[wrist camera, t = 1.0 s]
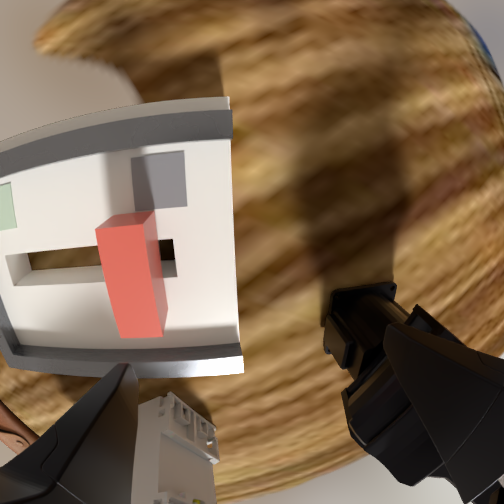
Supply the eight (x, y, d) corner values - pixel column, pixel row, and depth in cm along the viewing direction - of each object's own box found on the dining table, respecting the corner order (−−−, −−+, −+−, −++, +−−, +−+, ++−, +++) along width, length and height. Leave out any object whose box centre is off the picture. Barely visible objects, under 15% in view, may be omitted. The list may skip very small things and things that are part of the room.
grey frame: (229, 113, 14) (232, 109, 13) (240, 358, 19) (243, 372, 18) (-36, 171, 11) (-48, 174, 10) (16, 356, 17) (9, 367, 15)
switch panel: (225, 105, 16) (229, 96, 14) (236, 344, 23) (241, 368, 20) (-14, 154, 14) (-38, 158, 11) (33, 346, 20) (20, 366, 17)
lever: (161, 202, 17) (142, 224, 12) (172, 289, 19) (162, 337, 14) (125, 206, 17) (94, 229, 11) (139, 291, 19) (121, 338, 14)
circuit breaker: (84, 424, 24) (61, 528, 10) (170, 391, 23) (168, 539, 10) (128, 454, 27) (121, 550, 13) (216, 427, 26) (233, 550, 12)
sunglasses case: (77, 462, 27) (59, 490, 22) (62, 448, 30) (46, 473, 25) (-13, 384, 20) (-35, 415, 15) (-15, 377, 24) (-35, 403, 19)
